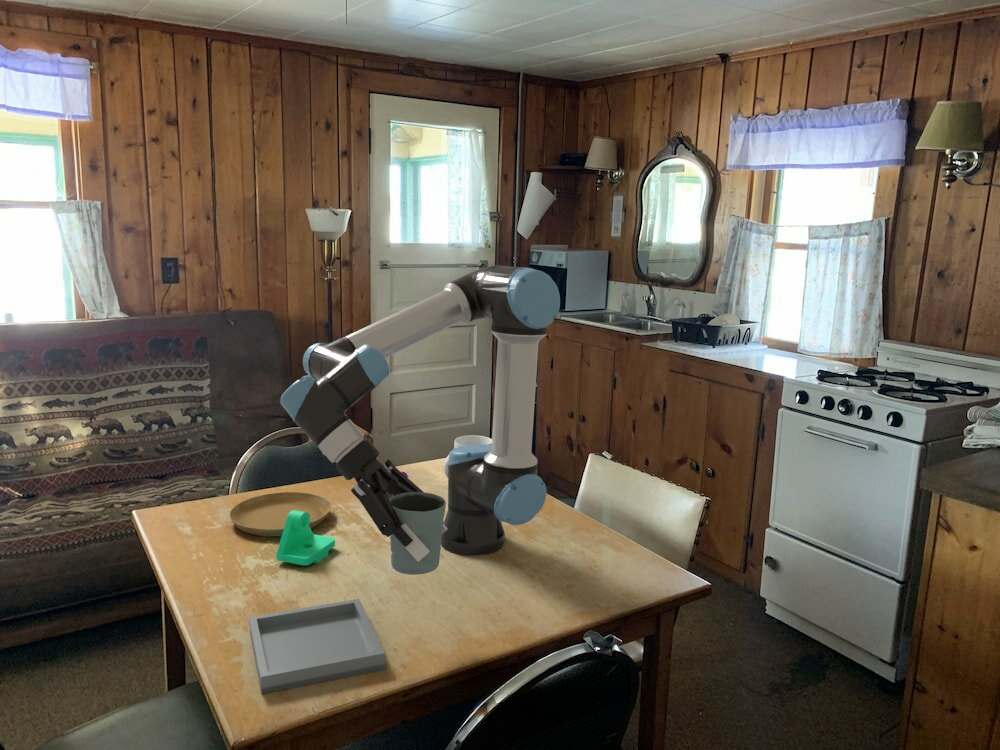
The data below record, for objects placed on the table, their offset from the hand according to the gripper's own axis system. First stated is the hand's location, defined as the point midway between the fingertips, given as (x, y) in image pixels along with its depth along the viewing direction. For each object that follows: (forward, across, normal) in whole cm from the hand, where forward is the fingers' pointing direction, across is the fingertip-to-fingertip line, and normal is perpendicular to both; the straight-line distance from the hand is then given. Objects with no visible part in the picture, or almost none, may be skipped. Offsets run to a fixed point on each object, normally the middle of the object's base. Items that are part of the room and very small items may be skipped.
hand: (433, 544), depth 139 cm
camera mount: (-13, -24, -39) cm, 47 cm away
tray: (0, +11, -25) cm, 27 cm away
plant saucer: (-25, -41, -50) cm, 69 cm away
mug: (+2, -79, -23) cm, 82 cm away
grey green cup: (+1, 0, -5) cm, 5 cm away
